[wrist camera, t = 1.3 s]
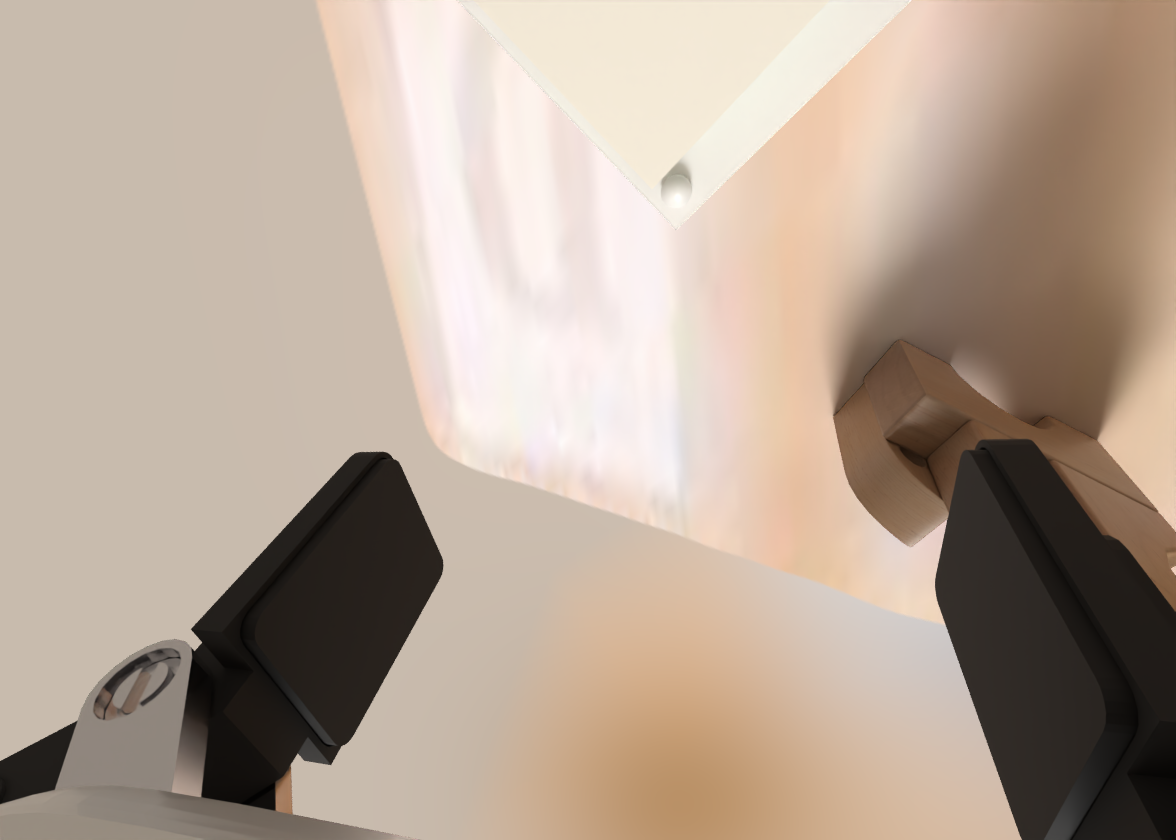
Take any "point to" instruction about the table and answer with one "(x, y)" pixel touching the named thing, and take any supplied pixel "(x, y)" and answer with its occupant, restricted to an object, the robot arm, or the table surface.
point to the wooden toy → (957, 423)
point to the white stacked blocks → (681, 76)
